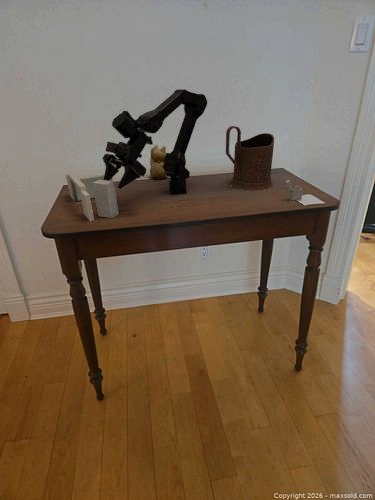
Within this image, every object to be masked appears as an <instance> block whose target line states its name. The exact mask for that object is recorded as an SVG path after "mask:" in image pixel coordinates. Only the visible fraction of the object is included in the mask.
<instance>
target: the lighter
mask: <svg viewBox="0 0 375 500" xmlns="http://www.w3.org/2000/svg"><path fill="white" fill-rule="evenodd" d="M284 184H285V187H286V189H287V191H288V192H289V193H290V194H289V199H290V201H292V200H296V201H300V200H299V199H301V200H302V199H303V198H302V197H303V191H304V189H303V188H302V187H301V185H293V186H292V183H291V180H290V179H289V178H288V179H286V180H285V181H284ZM292 202H293V201H292Z"/></svg>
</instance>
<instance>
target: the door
mask: <svg viewBox="0 0 375 500" xmlns="http://www.w3.org/2000/svg"><path fill="white" fill-rule="evenodd" d="M104 175H105V174H101V175H96V176H89V177H84V178H82V177H81V178H78V179H79V180H80V181H81V182H82V183H83V184H84V185H85V187H86V192H87V193H88V194H89V195H90V199H95V195H94V189H93V184H92V183H93V182H95V181H98V180H103V179H104ZM109 181H114V180H113V177H112V178H111V179H110V180H109ZM71 184H72V188H73V193H74V198H75V201H74V202H79V201H82V200H81V195H80V190H79V188H78V187H77V186H76V185H75V184H74V183H73V181H72V180H71Z"/></svg>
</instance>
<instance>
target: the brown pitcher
mask: <svg viewBox="0 0 375 500" xmlns="http://www.w3.org/2000/svg"><path fill="white" fill-rule="evenodd" d="M232 129H235V130H236V132H237V135H236V136H237V138H236V142H235V143H234V153H233V155H234V158H233V156H232V155H231V154H230V138H231V137H230V136H231V135H230V134H231V131H232ZM241 130H242V129H241V128H240V127H239V126H236V125H230V126H229V127H227V129H226V131H225V132H226V133H225V155H226V156H227V157H228V159H229V160H230V161H231V162H232V164H233V177H232V180H231V181H230V183H231V185H232V186H233V187H232V186H231V185H230V186H231V187H232V188H234V187H235V188H234V189H236V188H238V189H237V190H240V189H243V190H242V191H248V190H249V191H250V192H253V191H257V190H259V191H265V190H264V189H266V190H268V188H269V189H271V188H273V186H274V185H273V182H272V177H271V175H272V166H273V156H274V155H273V154H274V147H275V136H274V135H273V134H272V133H266V132H264V133H259V134H257V135H254V136H251V137H250V138H248V139H244V140H242V138H241V137H242V136H241V135H242V131H241ZM272 185H273V186H272ZM270 187H271V188H270Z"/></svg>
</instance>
